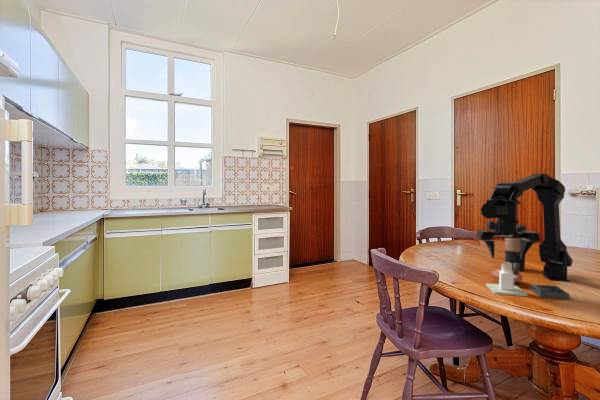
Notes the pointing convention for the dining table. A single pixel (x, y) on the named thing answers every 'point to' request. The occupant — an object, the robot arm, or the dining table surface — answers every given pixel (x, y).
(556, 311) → the dining table surface
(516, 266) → the handwheel
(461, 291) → the dining table surface
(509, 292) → the board
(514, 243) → the travel mug
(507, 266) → the pepper shaker
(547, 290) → the dark grey square frame
